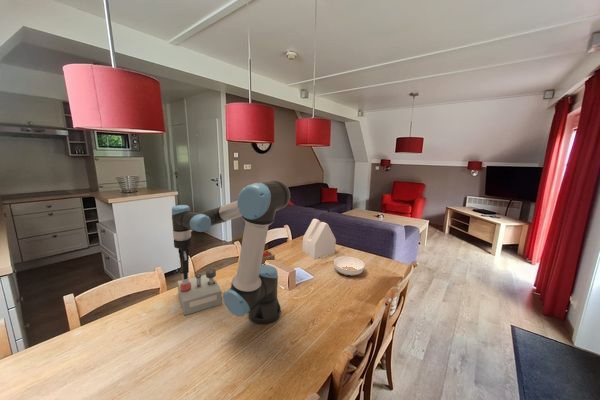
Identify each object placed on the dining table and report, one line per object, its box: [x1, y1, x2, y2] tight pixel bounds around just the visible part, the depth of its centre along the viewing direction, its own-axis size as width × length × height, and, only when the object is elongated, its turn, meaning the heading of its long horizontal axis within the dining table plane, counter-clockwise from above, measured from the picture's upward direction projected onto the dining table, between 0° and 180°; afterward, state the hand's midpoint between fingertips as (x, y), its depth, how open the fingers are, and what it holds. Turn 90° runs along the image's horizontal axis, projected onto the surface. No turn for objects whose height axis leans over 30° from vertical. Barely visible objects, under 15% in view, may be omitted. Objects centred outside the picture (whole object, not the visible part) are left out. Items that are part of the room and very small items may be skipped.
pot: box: [195, 273, 202, 287], centre depth 121 cm, size 3×3×6 cm
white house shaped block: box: [302, 218, 337, 260], centre depth 181 cm, size 19×15×25 cm
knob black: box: [205, 268, 217, 285], centre depth 124 cm, size 5×5×9 cm
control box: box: [177, 274, 223, 316], centre depth 122 cm, size 20×17×7 cm
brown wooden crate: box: [261, 249, 276, 265], centre depth 164 cm, size 10×17×5 cm, turn 123°
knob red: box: [180, 282, 191, 292], centre depth 118 cm, size 5×5×9 cm
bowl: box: [333, 255, 366, 277], centre depth 156 cm, size 20×20×6 cm
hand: (185, 283), depth 117 cm, fingers closed
